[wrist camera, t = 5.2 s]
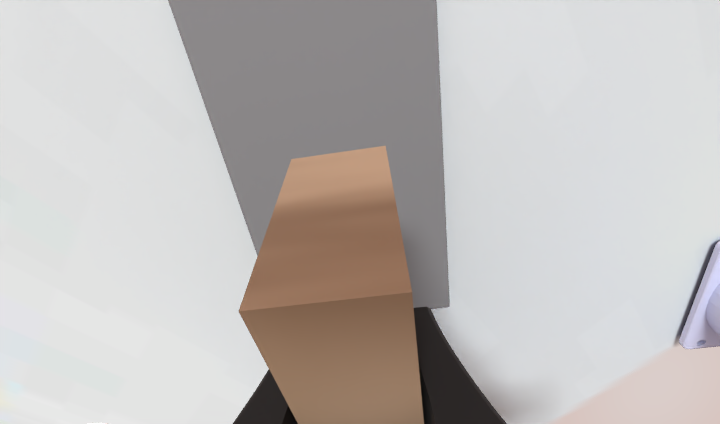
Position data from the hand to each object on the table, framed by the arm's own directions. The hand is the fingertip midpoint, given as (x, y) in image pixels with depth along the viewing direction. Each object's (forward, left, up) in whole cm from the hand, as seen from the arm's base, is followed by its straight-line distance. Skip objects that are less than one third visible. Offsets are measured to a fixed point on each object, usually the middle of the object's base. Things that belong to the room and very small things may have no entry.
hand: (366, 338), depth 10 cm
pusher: (0, +1, -2) cm, 2 cm away
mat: (+1, -2, -8) cm, 9 cm away
